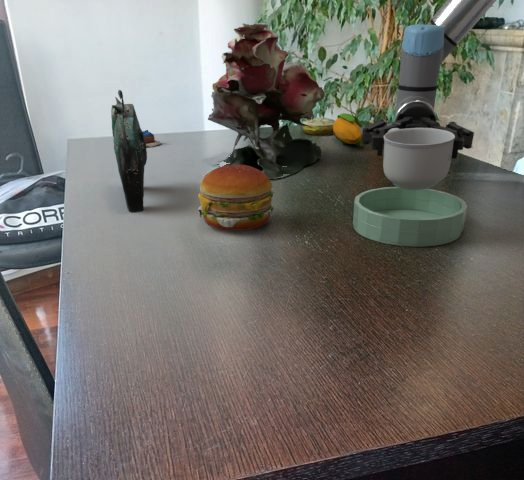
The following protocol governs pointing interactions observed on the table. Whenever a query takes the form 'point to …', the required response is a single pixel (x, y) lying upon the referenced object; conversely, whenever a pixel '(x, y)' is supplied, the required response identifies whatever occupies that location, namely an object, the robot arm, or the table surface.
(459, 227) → the bowl
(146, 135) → the dessert
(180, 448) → the table surface
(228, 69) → the rose bouquet
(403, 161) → the teacup
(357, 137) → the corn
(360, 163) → the table surface
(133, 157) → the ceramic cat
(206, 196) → the burger
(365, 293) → the table surface
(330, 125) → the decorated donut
